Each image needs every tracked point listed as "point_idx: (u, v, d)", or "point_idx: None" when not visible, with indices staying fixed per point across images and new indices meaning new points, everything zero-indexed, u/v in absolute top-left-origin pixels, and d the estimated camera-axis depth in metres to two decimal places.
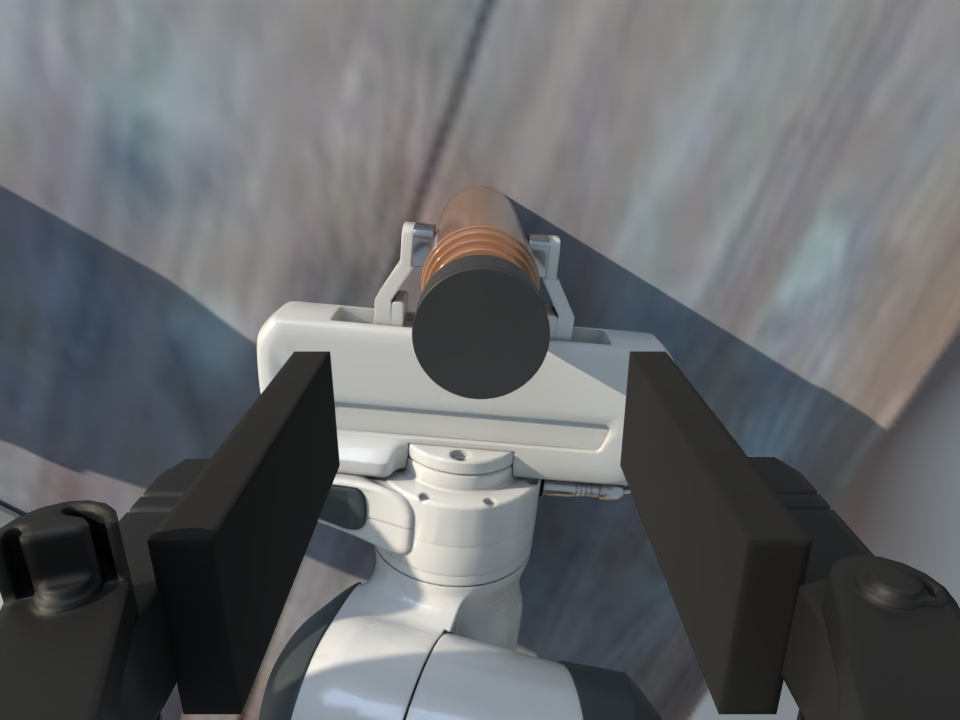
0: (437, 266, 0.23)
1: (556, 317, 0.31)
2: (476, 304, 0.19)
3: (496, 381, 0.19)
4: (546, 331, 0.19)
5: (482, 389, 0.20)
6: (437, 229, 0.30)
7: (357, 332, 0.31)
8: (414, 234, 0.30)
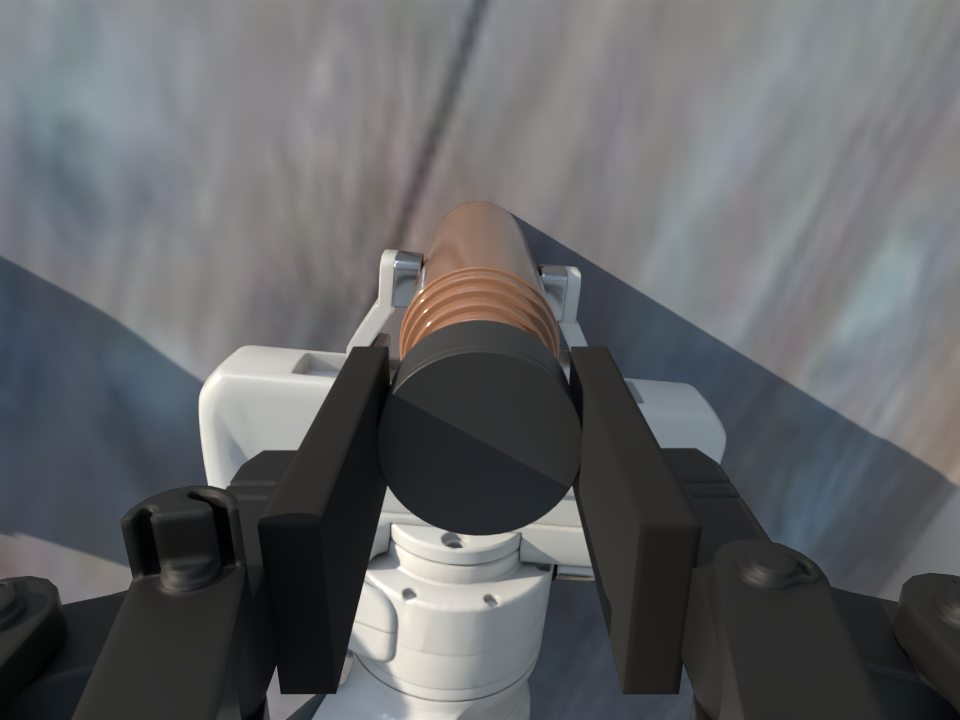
0: (419, 325, 0.16)
1: None
2: (473, 403, 0.12)
3: (503, 511, 0.13)
4: (578, 441, 0.13)
5: (482, 522, 0.13)
6: (425, 260, 0.24)
7: (324, 389, 0.24)
8: (395, 267, 0.24)
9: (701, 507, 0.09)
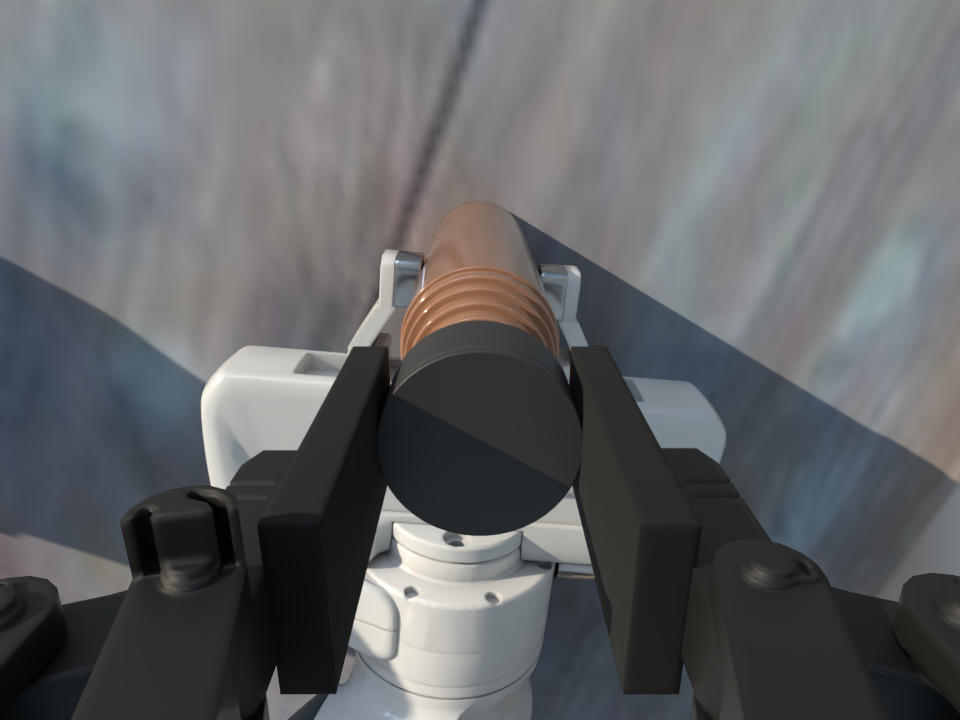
0: (420, 324, 0.17)
1: None
2: (440, 475, 0.13)
3: (534, 396, 0.12)
4: (423, 372, 0.12)
5: (556, 409, 0.12)
6: (425, 260, 0.24)
7: (326, 389, 0.24)
8: (396, 266, 0.24)
9: (701, 507, 0.09)
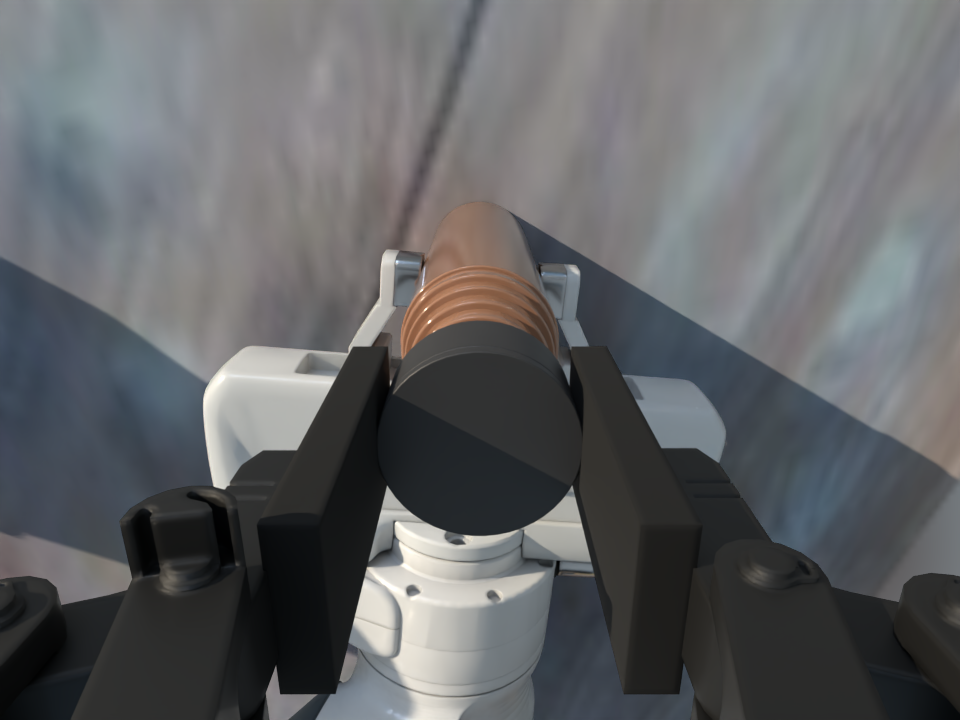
0: (420, 323, 0.17)
1: None
2: (525, 467, 0.13)
3: (404, 432, 0.12)
4: (436, 523, 0.13)
5: (403, 410, 0.12)
6: (425, 260, 0.24)
7: (327, 388, 0.25)
8: (396, 266, 0.24)
9: (702, 507, 0.09)
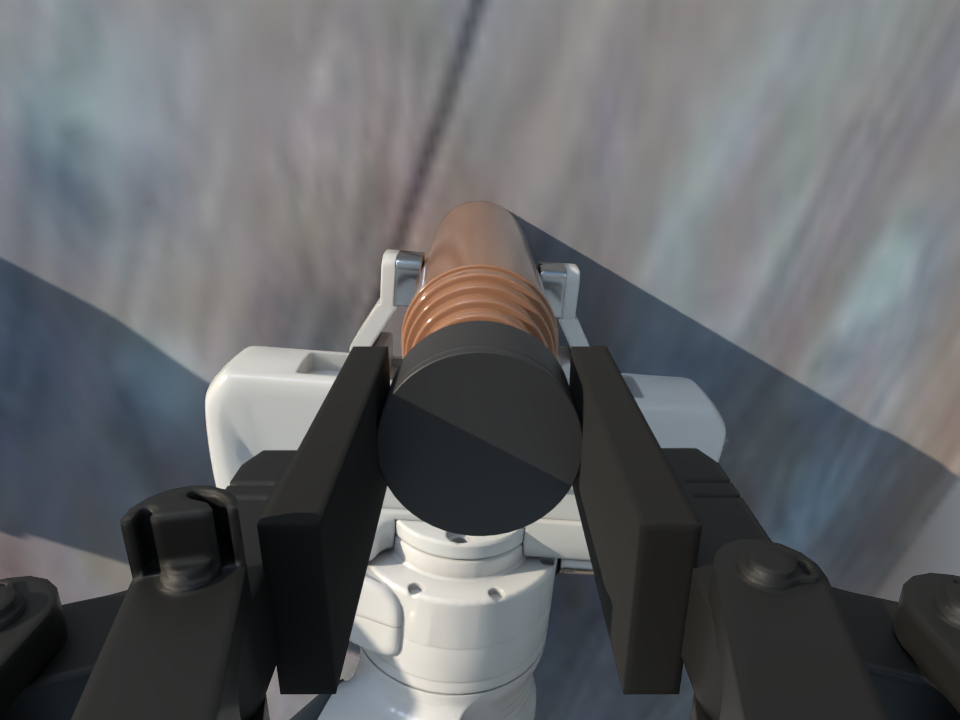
0: (420, 322, 0.17)
1: None
2: (475, 403, 0.12)
3: (499, 512, 0.13)
4: (578, 446, 0.13)
5: (478, 523, 0.13)
6: None
7: (328, 388, 0.25)
8: (397, 266, 0.24)
9: (701, 507, 0.09)
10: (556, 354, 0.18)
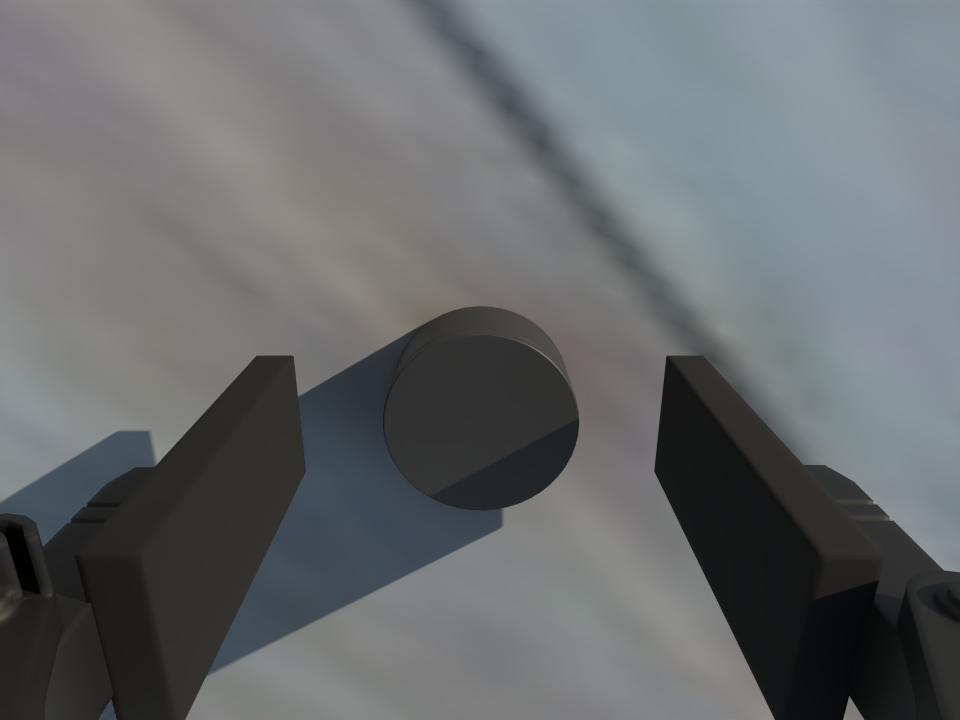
0: None
1: None
2: (477, 383, 0.13)
3: (499, 487, 0.14)
4: (574, 423, 0.13)
5: (479, 497, 0.14)
6: None
7: None
8: None
9: None
10: None
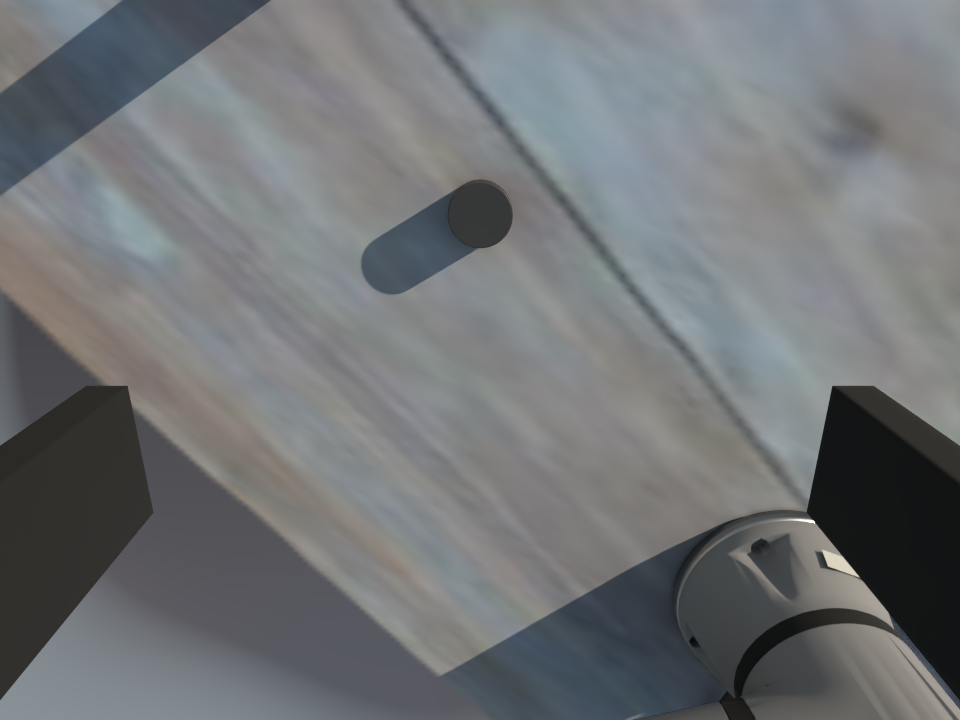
0: None
1: None
2: (479, 200, 0.40)
3: (486, 239, 0.41)
4: (511, 214, 0.41)
5: (479, 242, 0.41)
6: None
7: None
8: None
9: None
10: None
